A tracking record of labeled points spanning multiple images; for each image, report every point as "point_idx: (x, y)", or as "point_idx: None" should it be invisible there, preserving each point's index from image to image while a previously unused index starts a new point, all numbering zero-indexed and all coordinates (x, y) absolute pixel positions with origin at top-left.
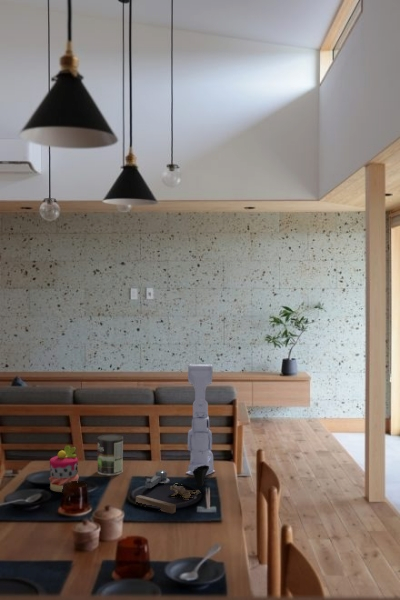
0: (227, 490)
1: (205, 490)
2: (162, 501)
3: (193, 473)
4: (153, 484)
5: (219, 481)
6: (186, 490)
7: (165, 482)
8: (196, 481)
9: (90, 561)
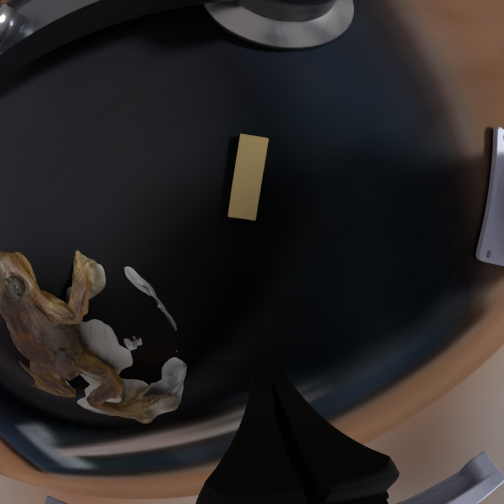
0: None
1: (241, 408)
2: None
3: (227, 451)
4: (46, 44)
5: (426, 374)
6: (64, 375)
7: (243, 36)
8: (249, 395)
9: None
